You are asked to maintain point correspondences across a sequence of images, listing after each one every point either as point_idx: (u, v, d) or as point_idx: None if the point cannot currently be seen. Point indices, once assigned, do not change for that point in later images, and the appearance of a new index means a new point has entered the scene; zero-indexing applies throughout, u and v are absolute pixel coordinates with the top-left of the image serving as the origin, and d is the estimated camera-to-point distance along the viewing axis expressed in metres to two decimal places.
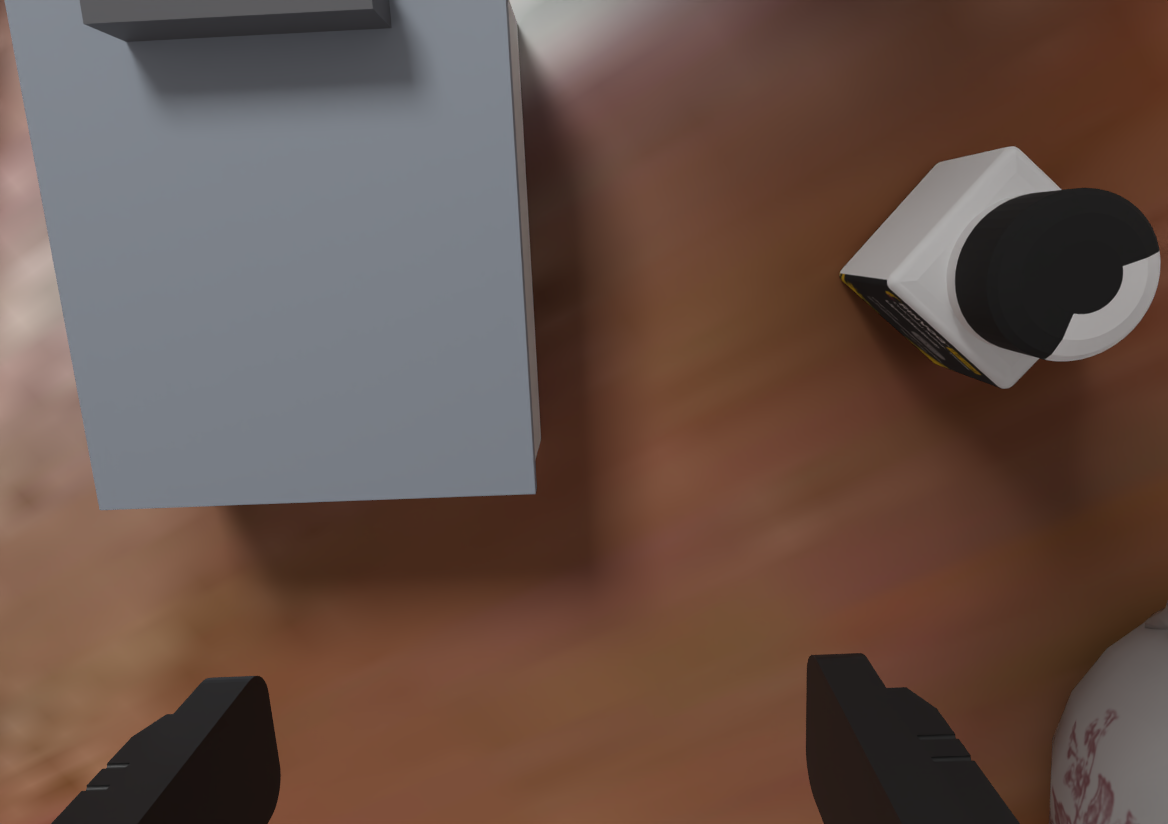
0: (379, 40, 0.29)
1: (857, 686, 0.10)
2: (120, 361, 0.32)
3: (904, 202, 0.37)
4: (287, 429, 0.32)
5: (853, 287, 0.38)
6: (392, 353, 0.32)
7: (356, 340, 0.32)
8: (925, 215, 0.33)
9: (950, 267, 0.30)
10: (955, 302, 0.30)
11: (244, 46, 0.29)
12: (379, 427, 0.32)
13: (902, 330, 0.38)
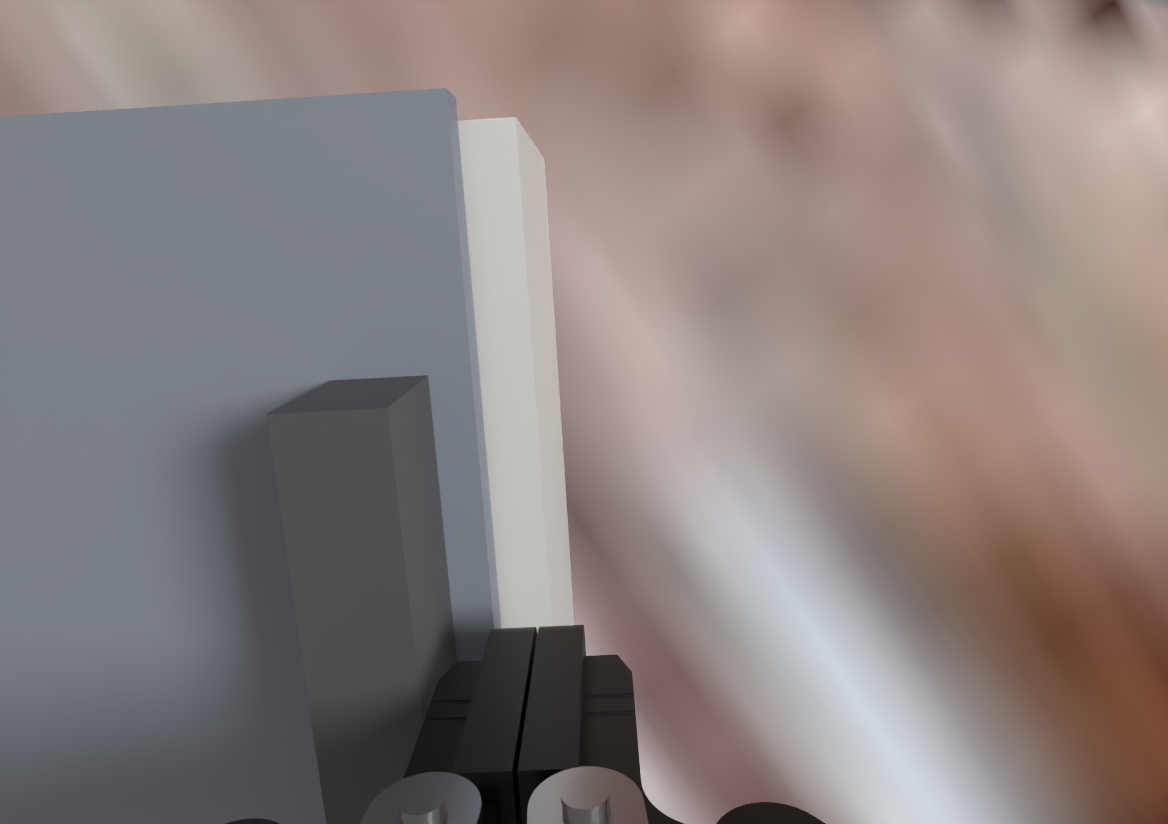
0: None
1: (558, 652, 0.11)
2: None
3: None
4: None
5: None
6: None
7: None
8: None
9: None
10: None
11: None
12: None
13: None
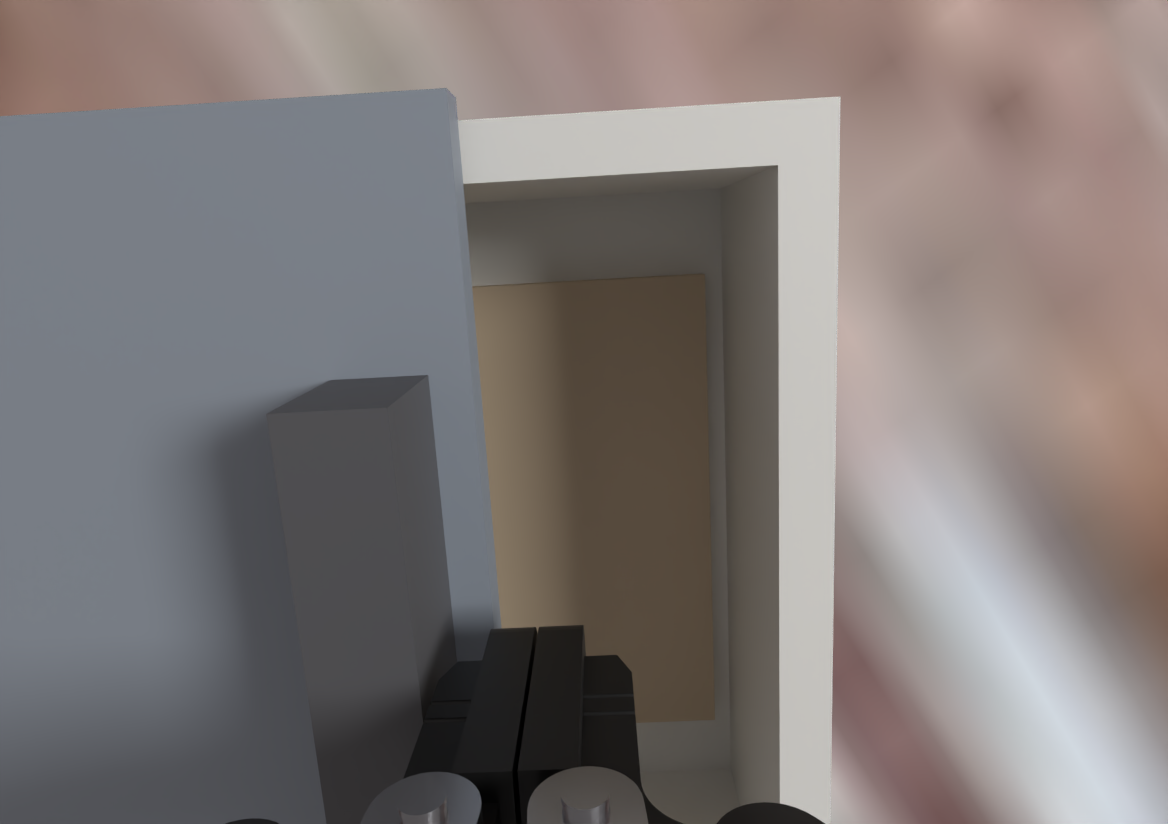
0: None
1: (558, 652, 0.11)
2: None
3: None
4: None
5: None
6: None
7: None
8: None
9: None
10: None
11: None
12: None
13: None
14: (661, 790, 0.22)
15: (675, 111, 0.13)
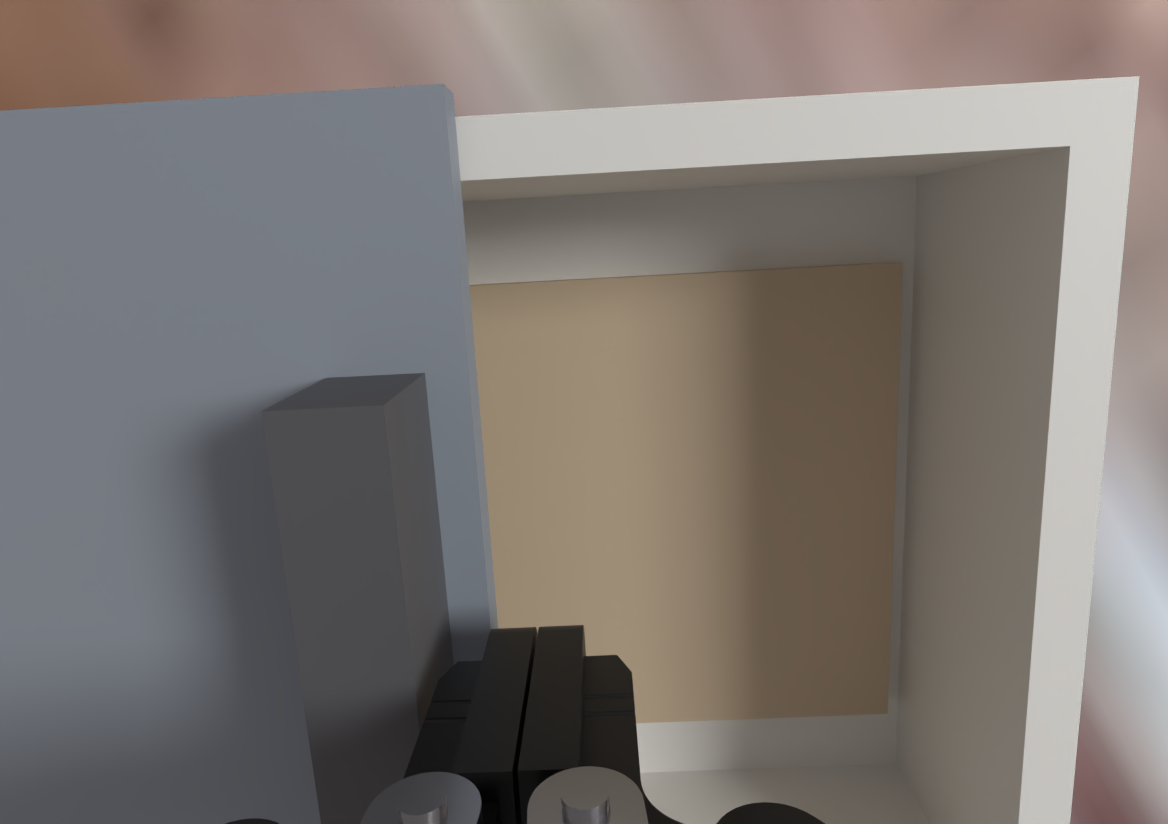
0: None
1: (558, 652, 0.11)
2: None
3: None
4: None
5: None
6: None
7: None
8: None
9: None
10: None
11: None
12: None
13: None
14: (830, 784, 0.21)
15: (970, 91, 0.12)
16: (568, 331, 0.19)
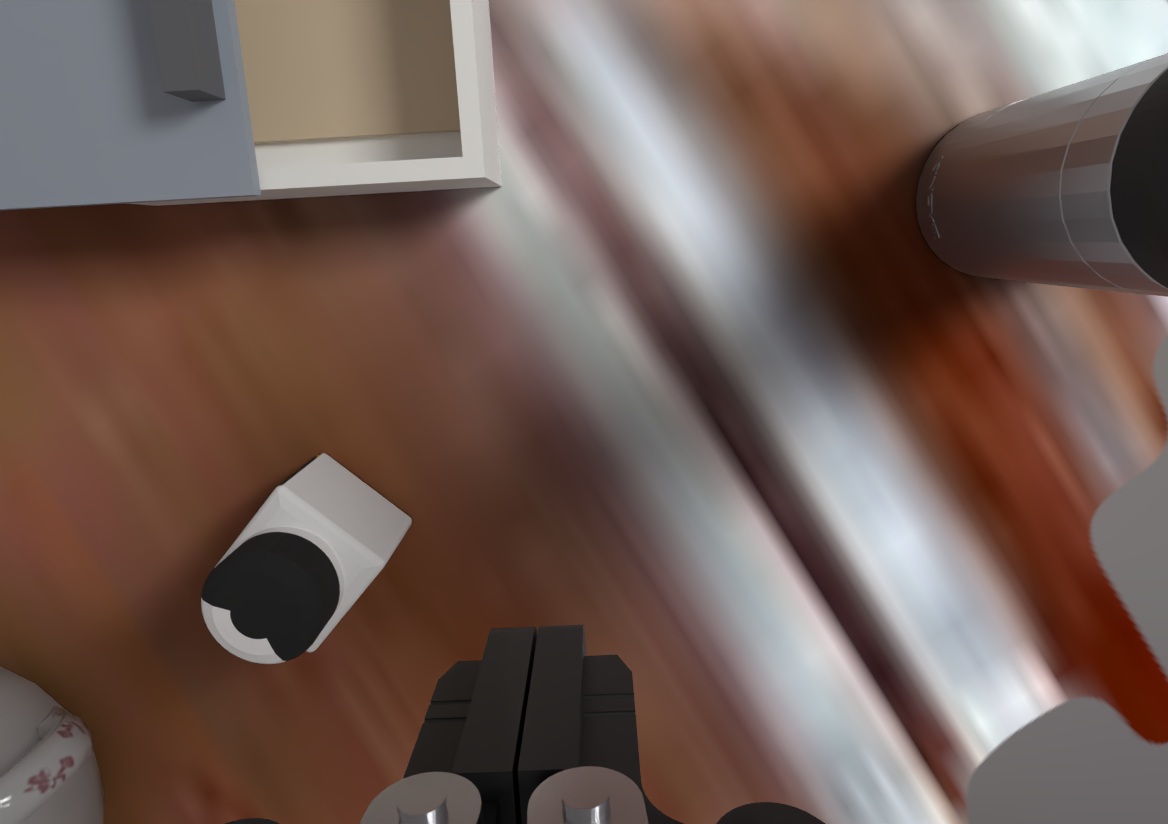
0: None
1: (558, 652, 0.11)
2: None
3: (378, 497, 0.48)
4: None
5: None
6: None
7: None
8: (345, 510, 0.44)
9: (284, 528, 0.41)
10: (257, 534, 0.40)
11: None
12: None
13: None
14: None
15: None
16: None
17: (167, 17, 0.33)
